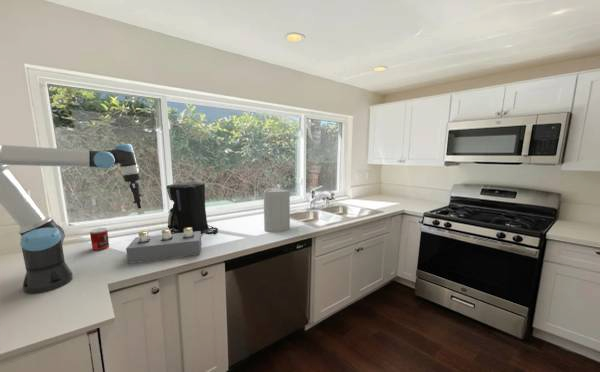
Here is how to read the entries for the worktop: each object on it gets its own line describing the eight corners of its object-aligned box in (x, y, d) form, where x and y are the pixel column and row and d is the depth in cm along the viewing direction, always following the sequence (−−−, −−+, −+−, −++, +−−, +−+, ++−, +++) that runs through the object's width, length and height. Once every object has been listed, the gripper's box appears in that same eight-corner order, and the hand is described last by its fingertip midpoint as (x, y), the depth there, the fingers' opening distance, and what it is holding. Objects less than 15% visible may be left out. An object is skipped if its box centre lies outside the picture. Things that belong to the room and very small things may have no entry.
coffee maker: (175, 226, 183) (171, 181, 177) (221, 224, 188) (218, 180, 183) (164, 237, 161) (159, 186, 155) (216, 235, 166) (213, 185, 161)
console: (200, 254, 137) (199, 240, 135) (127, 263, 126) (126, 248, 125) (201, 243, 152) (200, 230, 150) (137, 250, 141) (135, 237, 140)
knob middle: (171, 244, 137) (169, 231, 135) (162, 245, 135) (160, 231, 134) (172, 241, 141) (171, 228, 140) (163, 242, 139) (162, 229, 138)
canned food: (100, 251, 140) (97, 232, 138) (88, 250, 142) (86, 231, 140) (112, 246, 148) (110, 228, 146) (101, 245, 149) (99, 227, 147)
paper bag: (256, 228, 179) (255, 190, 174) (271, 223, 190) (271, 187, 185) (275, 234, 167) (274, 193, 162) (290, 229, 178) (290, 190, 173)
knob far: (192, 241, 140) (191, 228, 139) (184, 242, 139) (183, 229, 137) (193, 239, 144) (192, 226, 143) (185, 240, 143) (184, 227, 142)
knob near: (148, 246, 133) (146, 233, 132) (138, 247, 132) (137, 234, 131) (150, 243, 137) (148, 230, 136) (141, 244, 136) (139, 231, 135)
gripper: (139, 174, 125) (149, 214, 130) (138, 169, 145) (147, 204, 150) (121, 177, 121) (132, 218, 126) (123, 172, 141) (133, 207, 147)
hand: (141, 210), depth 138 cm, fingers open, 13 cm apart
